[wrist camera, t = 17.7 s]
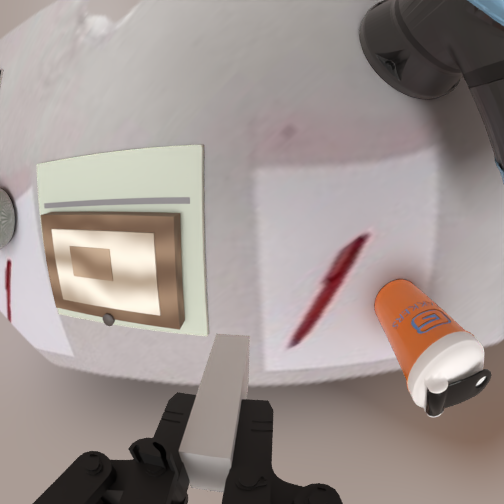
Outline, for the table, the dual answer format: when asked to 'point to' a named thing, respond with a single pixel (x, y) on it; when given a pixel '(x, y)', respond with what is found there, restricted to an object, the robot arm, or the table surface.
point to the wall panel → (139, 207)
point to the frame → (117, 265)
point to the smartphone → (0, 73)
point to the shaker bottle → (430, 348)
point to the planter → (6, 218)
